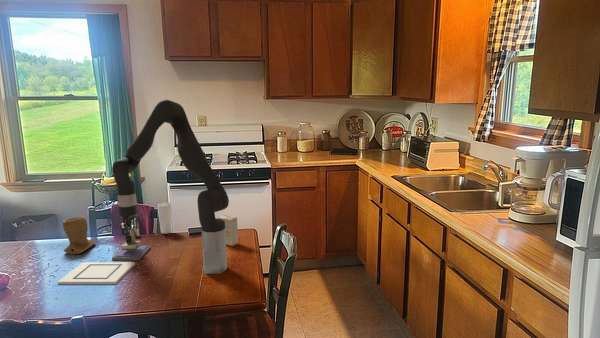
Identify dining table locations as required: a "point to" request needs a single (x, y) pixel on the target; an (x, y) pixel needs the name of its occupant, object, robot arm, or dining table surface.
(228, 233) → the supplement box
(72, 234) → the brown bookend
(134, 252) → the pad
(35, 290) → the dining table surface
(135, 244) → the stamp
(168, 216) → the tall white block
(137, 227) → the architectural model
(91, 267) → the marking board
